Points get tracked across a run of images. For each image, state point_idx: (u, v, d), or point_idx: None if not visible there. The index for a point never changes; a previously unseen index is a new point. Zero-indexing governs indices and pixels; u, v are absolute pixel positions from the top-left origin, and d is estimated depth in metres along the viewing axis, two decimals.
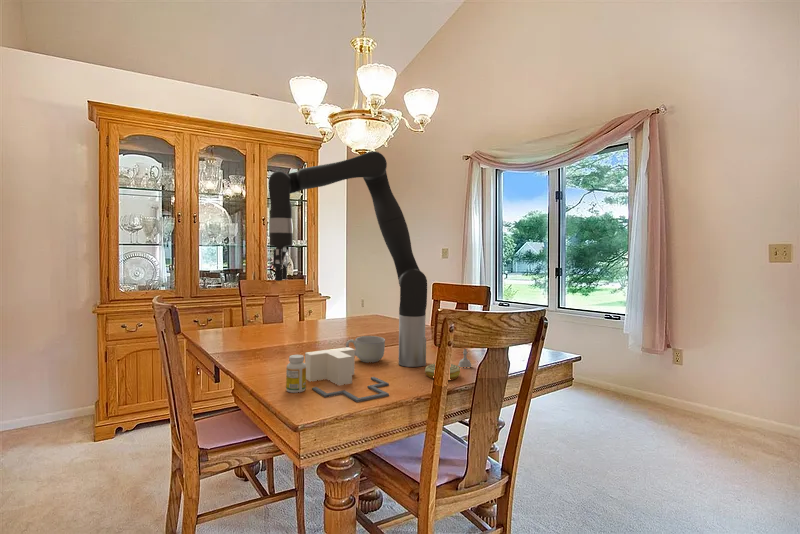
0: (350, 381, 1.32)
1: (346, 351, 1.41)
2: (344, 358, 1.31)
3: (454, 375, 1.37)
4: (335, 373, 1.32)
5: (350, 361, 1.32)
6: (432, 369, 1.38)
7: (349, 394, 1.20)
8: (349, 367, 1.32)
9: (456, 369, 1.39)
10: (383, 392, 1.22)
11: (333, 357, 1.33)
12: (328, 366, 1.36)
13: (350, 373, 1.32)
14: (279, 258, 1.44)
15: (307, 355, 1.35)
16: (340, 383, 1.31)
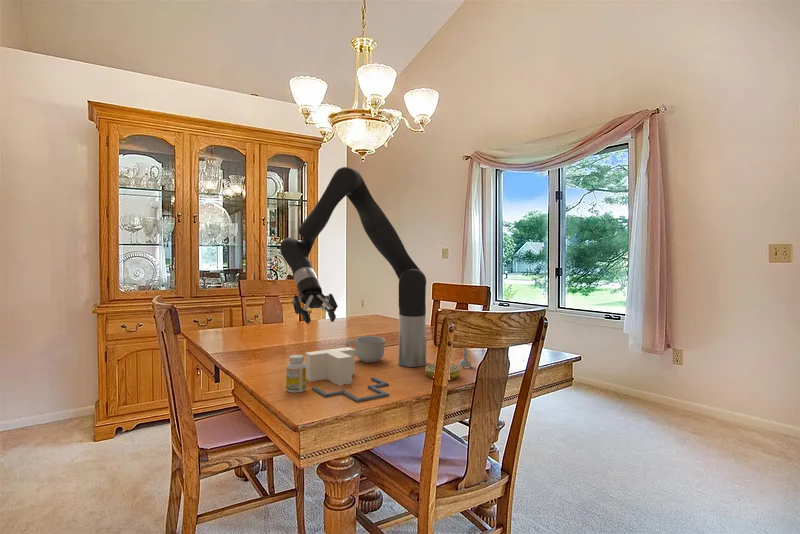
0: (350, 381, 1.32)
1: (346, 351, 1.41)
2: (344, 358, 1.31)
3: (454, 375, 1.37)
4: (335, 373, 1.32)
5: (350, 361, 1.32)
6: (432, 369, 1.38)
7: (349, 394, 1.20)
8: (349, 367, 1.32)
9: (456, 369, 1.39)
10: (383, 392, 1.22)
11: (333, 357, 1.33)
12: (328, 366, 1.36)
13: (350, 373, 1.32)
14: (295, 303, 1.44)
15: (307, 355, 1.35)
16: (340, 383, 1.31)
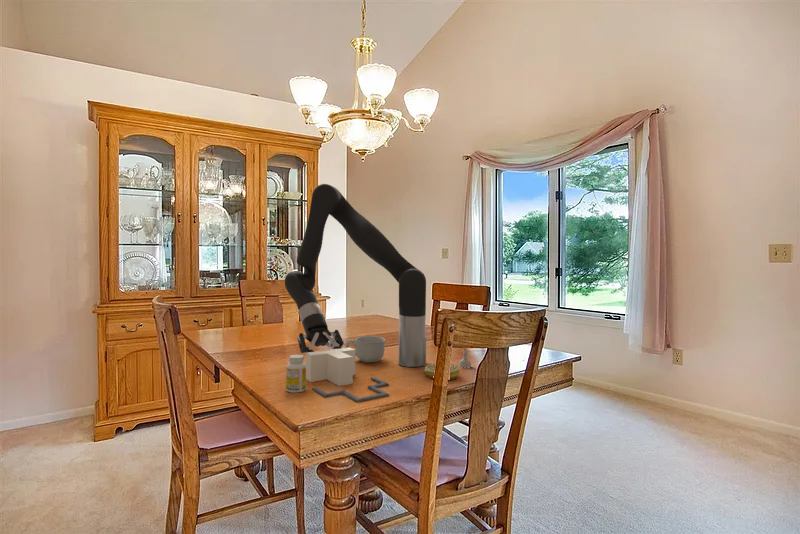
0: (350, 381, 1.32)
1: (347, 351, 1.40)
2: (344, 358, 1.31)
3: (453, 375, 1.37)
4: (335, 373, 1.31)
5: (350, 362, 1.32)
6: (431, 369, 1.38)
7: (349, 394, 1.20)
8: (349, 367, 1.32)
9: (455, 369, 1.39)
10: (383, 392, 1.22)
11: (333, 357, 1.32)
12: (328, 367, 1.35)
13: (350, 373, 1.32)
14: (300, 342, 1.41)
15: (307, 355, 1.35)
16: (340, 383, 1.30)
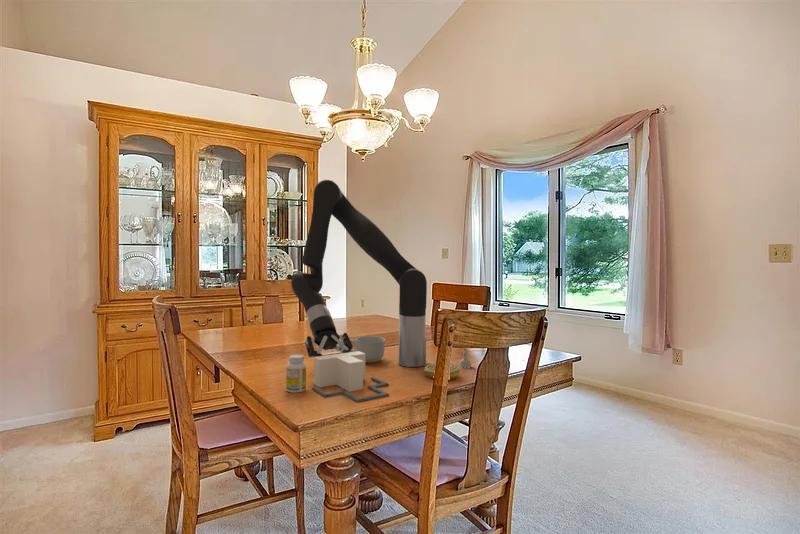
0: (361, 387, 1.27)
1: (357, 355, 1.35)
2: (355, 363, 1.25)
3: (453, 375, 1.37)
4: (345, 379, 1.26)
5: (361, 367, 1.26)
6: (431, 369, 1.38)
7: (349, 394, 1.20)
8: (360, 372, 1.26)
9: (455, 369, 1.39)
10: (383, 392, 1.22)
11: (343, 362, 1.27)
12: (338, 371, 1.30)
13: (361, 379, 1.27)
14: (308, 345, 1.36)
15: (316, 360, 1.30)
16: (351, 389, 1.25)
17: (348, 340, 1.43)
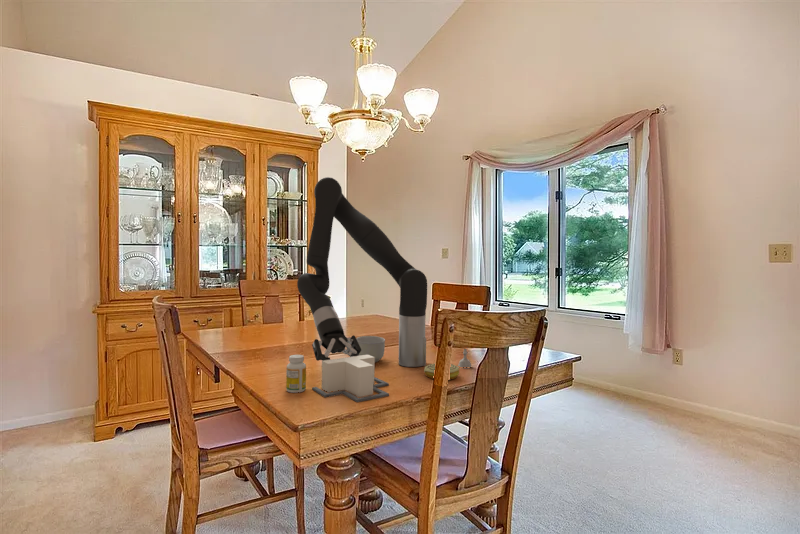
0: (371, 392, 1.22)
1: (366, 359, 1.30)
2: (365, 367, 1.21)
3: (453, 375, 1.37)
4: (354, 383, 1.22)
5: (371, 371, 1.22)
6: (431, 369, 1.38)
7: (349, 394, 1.20)
8: (370, 377, 1.22)
9: (455, 369, 1.39)
10: (383, 392, 1.22)
11: (352, 366, 1.23)
12: (346, 376, 1.26)
13: (371, 383, 1.22)
14: (316, 348, 1.31)
15: (324, 364, 1.25)
16: (360, 394, 1.20)
17: (356, 343, 1.39)
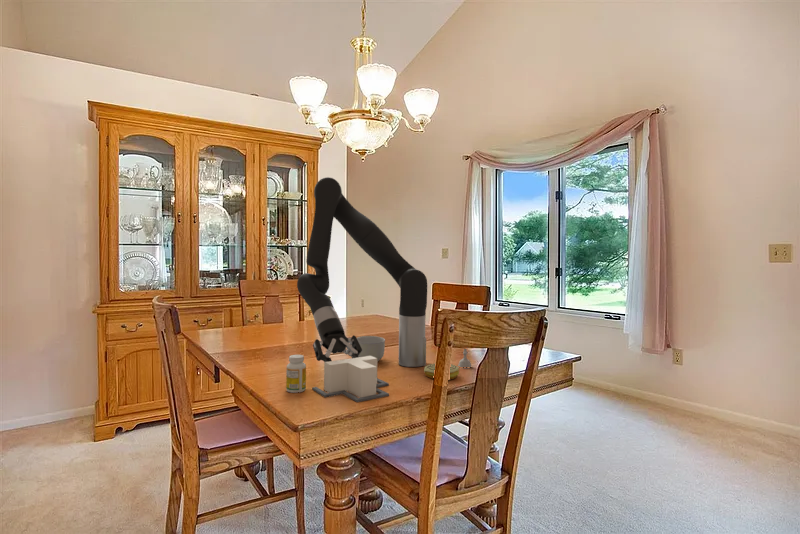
0: (374, 394, 1.21)
1: (368, 360, 1.29)
2: (368, 369, 1.20)
3: (453, 375, 1.37)
4: (357, 385, 1.20)
5: (374, 372, 1.21)
6: (431, 369, 1.38)
7: (349, 394, 1.20)
8: (373, 378, 1.21)
9: (455, 369, 1.39)
10: (383, 392, 1.22)
11: (355, 367, 1.21)
12: (349, 377, 1.24)
13: (374, 385, 1.21)
14: (316, 349, 1.31)
15: (327, 365, 1.24)
16: (363, 396, 1.19)
17: (357, 343, 1.38)
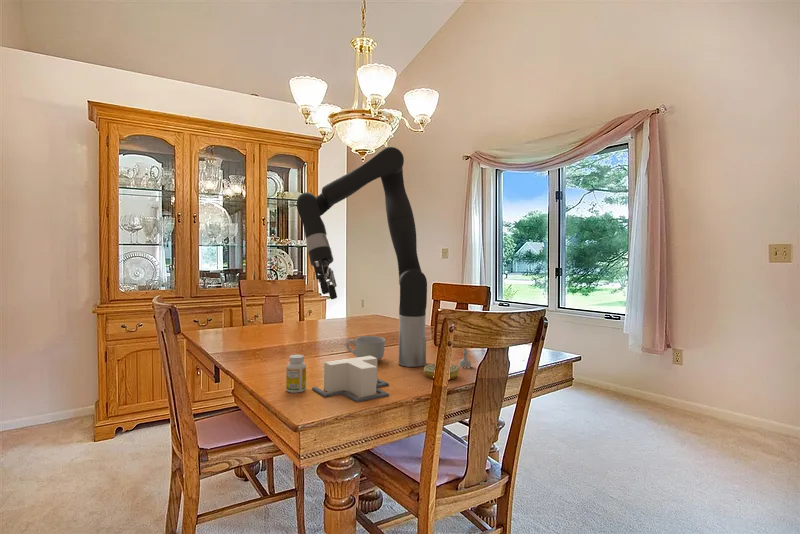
0: (374, 394, 1.21)
1: (368, 360, 1.29)
2: (368, 369, 1.20)
3: (453, 375, 1.37)
4: (357, 385, 1.20)
5: (374, 372, 1.21)
6: (431, 369, 1.38)
7: (349, 394, 1.20)
8: (373, 378, 1.21)
9: (455, 369, 1.39)
10: (383, 392, 1.22)
11: (355, 367, 1.21)
12: (349, 377, 1.24)
13: (374, 385, 1.21)
14: (320, 268, 1.39)
15: (327, 365, 1.24)
16: (363, 396, 1.19)
17: (334, 278, 1.51)
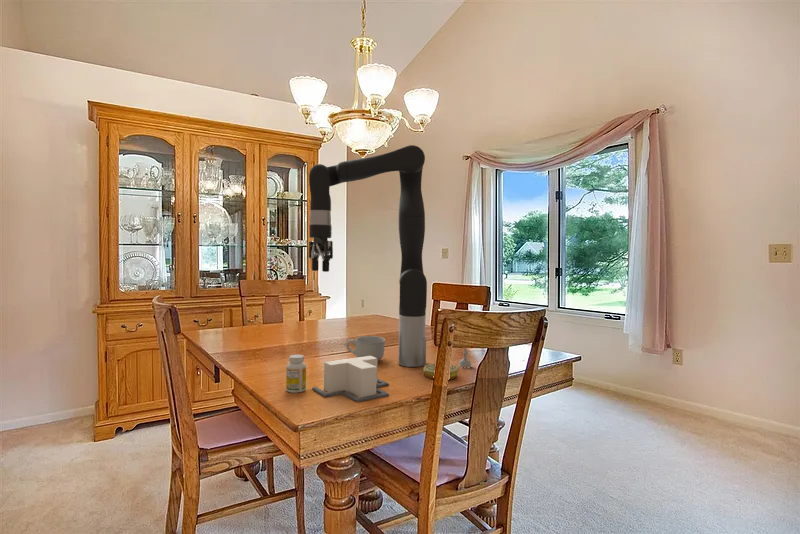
0: (374, 394, 1.21)
1: (368, 360, 1.29)
2: (368, 369, 1.20)
3: (452, 375, 1.37)
4: (357, 385, 1.20)
5: (374, 372, 1.21)
6: (430, 369, 1.38)
7: (349, 394, 1.20)
8: (373, 378, 1.21)
9: (454, 369, 1.39)
10: (383, 392, 1.22)
11: (355, 367, 1.21)
12: (349, 377, 1.24)
13: (374, 385, 1.21)
14: (331, 249, 1.49)
15: (327, 365, 1.24)
16: (363, 396, 1.19)
17: None
